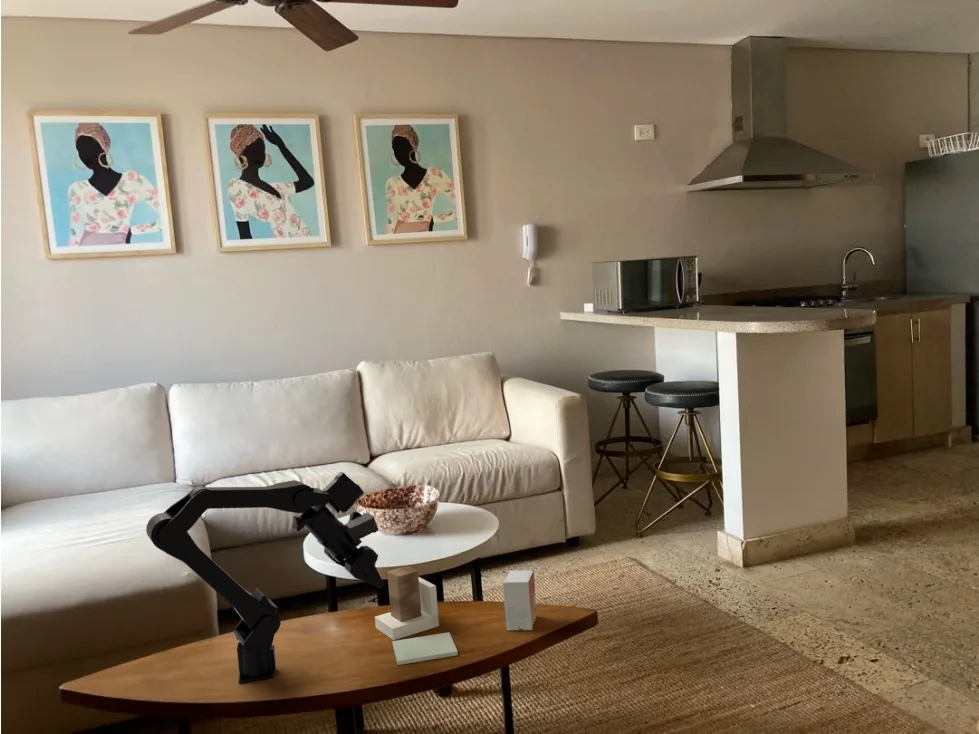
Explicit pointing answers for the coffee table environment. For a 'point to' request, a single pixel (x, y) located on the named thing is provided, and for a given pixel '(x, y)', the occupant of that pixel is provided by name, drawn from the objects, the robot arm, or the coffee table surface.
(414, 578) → the walnut block
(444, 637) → the pad
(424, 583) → the ledge
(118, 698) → the coffee table surface
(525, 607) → the small box
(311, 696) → the coffee table surface
